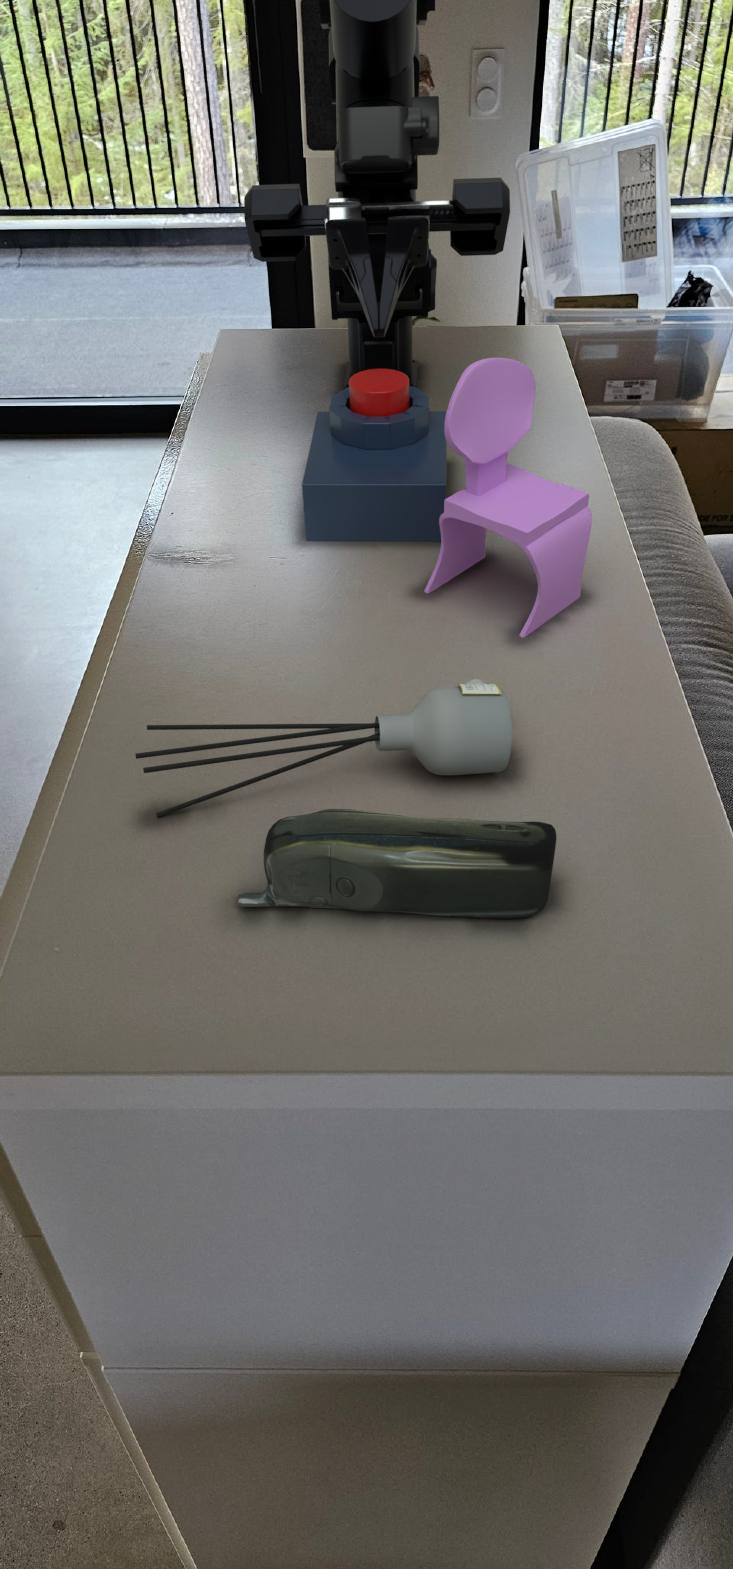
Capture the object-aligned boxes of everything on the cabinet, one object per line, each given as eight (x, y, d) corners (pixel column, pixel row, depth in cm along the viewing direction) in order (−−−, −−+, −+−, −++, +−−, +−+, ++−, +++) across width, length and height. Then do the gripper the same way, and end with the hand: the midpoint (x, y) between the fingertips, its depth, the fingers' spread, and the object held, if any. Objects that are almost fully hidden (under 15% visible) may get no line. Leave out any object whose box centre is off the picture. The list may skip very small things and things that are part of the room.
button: (352, 395, 83) (351, 368, 82) (410, 395, 83) (410, 368, 82) (347, 420, 80) (346, 392, 79) (408, 420, 80) (408, 392, 78)
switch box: (321, 461, 89) (316, 382, 84) (445, 461, 88) (447, 381, 84) (306, 542, 79) (299, 457, 75) (444, 542, 79) (446, 457, 74)
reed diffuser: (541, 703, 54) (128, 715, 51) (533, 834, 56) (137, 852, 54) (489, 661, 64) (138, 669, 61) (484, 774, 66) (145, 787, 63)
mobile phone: (556, 808, 51) (235, 801, 52) (562, 854, 49) (227, 847, 49) (545, 880, 54) (243, 874, 55) (550, 927, 52) (236, 920, 53)
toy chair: (519, 649, 69) (538, 418, 59) (413, 599, 73) (413, 376, 63) (595, 593, 73) (624, 370, 63) (490, 549, 78) (502, 334, 68)
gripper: (231, 51, 72) (233, 282, 71) (516, 41, 72) (521, 274, 71) (253, 156, 83) (255, 357, 83) (500, 148, 83) (504, 350, 82)
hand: (379, 335), depth 79 cm, fingers closed
